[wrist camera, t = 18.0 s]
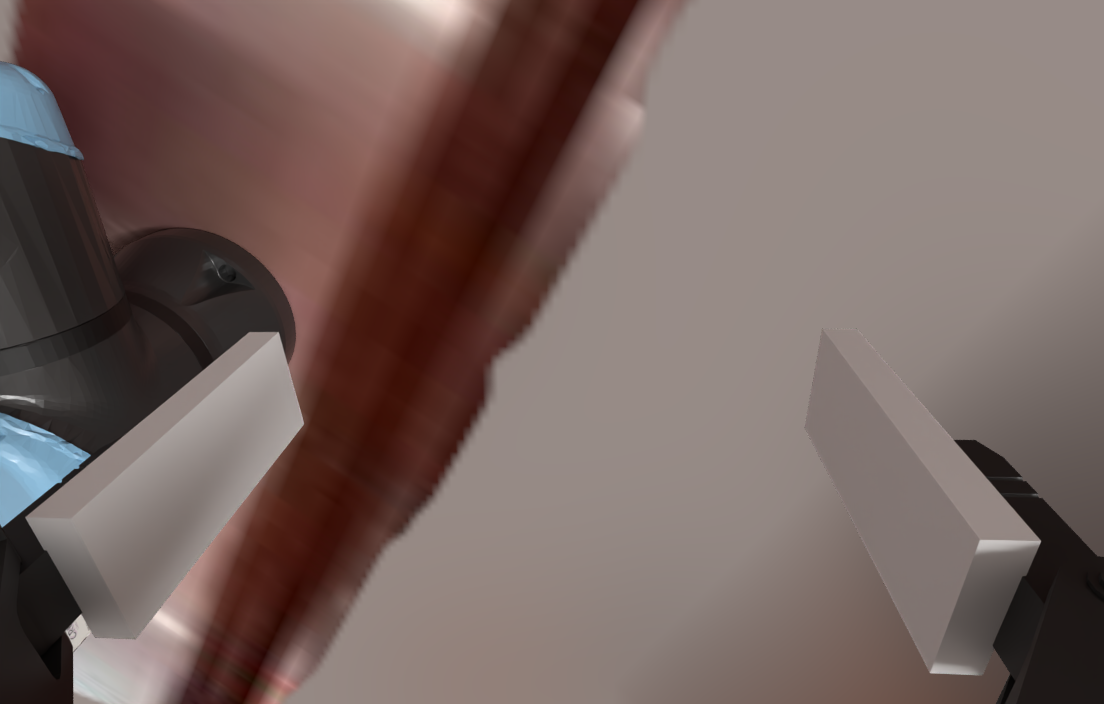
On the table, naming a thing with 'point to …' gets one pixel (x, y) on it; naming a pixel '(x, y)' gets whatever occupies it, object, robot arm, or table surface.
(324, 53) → the table surface
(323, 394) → the table surface
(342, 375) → the table surface
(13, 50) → the table surface
